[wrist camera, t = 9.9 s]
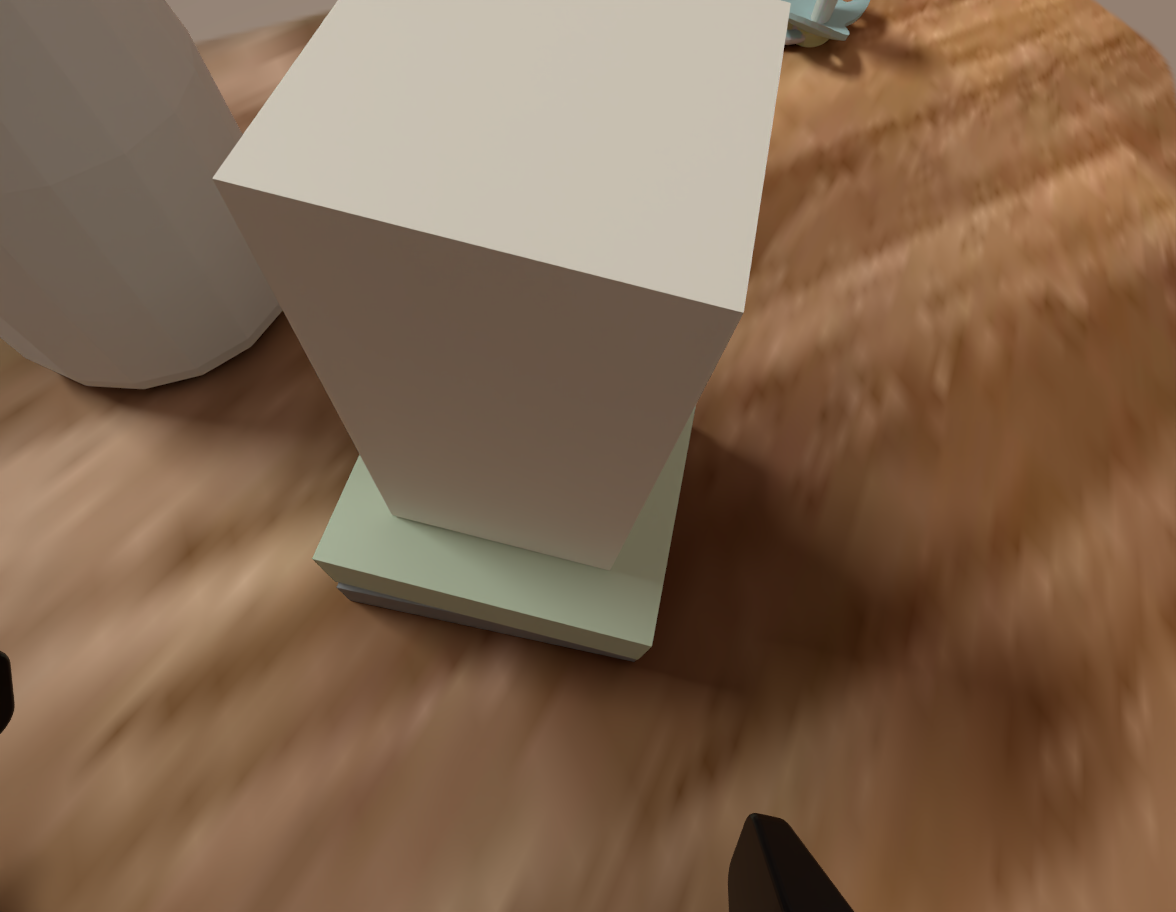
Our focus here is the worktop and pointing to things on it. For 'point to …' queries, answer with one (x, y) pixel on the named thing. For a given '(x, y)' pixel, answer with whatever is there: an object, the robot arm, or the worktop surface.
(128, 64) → the soap bottle
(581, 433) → the post
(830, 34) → the pacifier
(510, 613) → the slab upper
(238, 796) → the worktop surface
